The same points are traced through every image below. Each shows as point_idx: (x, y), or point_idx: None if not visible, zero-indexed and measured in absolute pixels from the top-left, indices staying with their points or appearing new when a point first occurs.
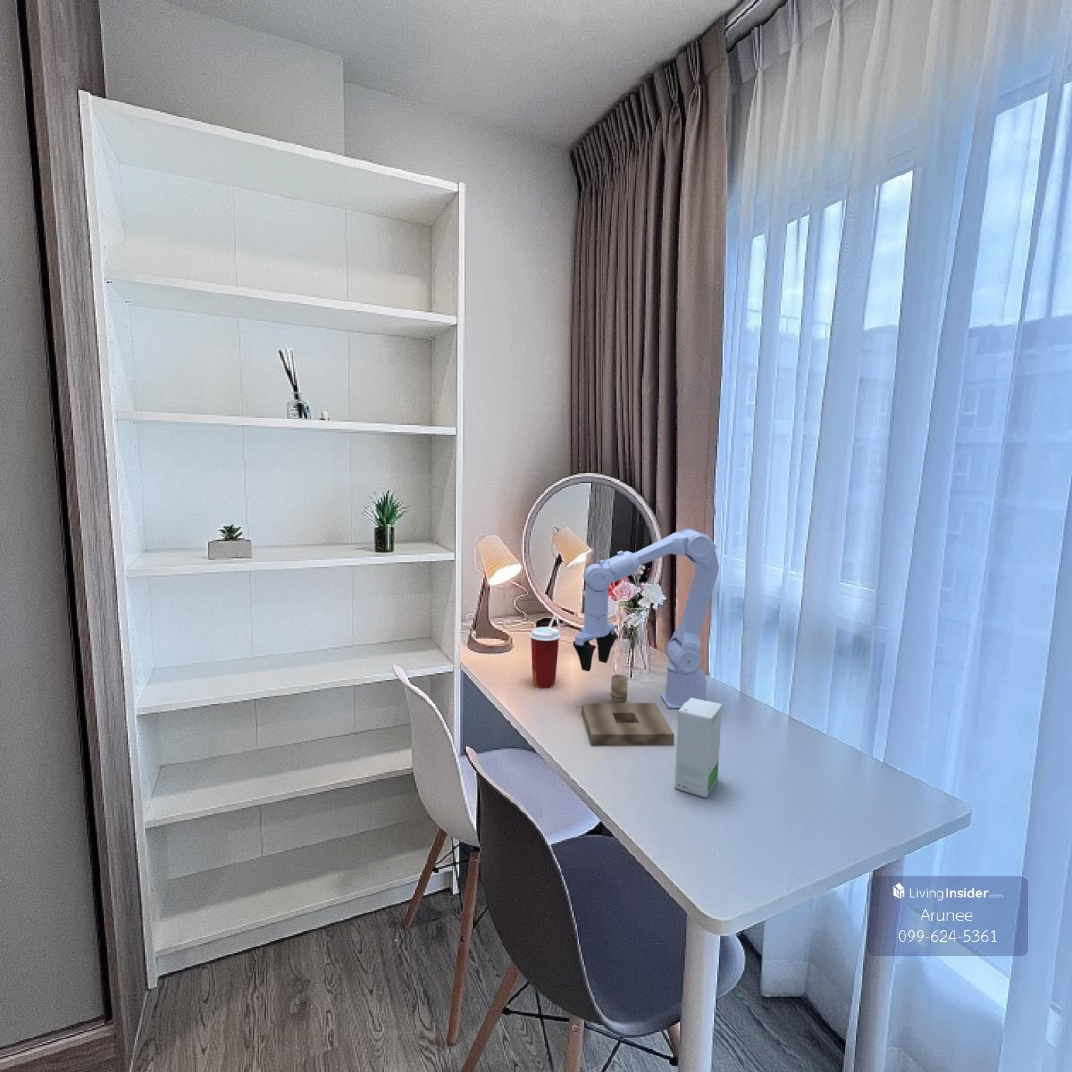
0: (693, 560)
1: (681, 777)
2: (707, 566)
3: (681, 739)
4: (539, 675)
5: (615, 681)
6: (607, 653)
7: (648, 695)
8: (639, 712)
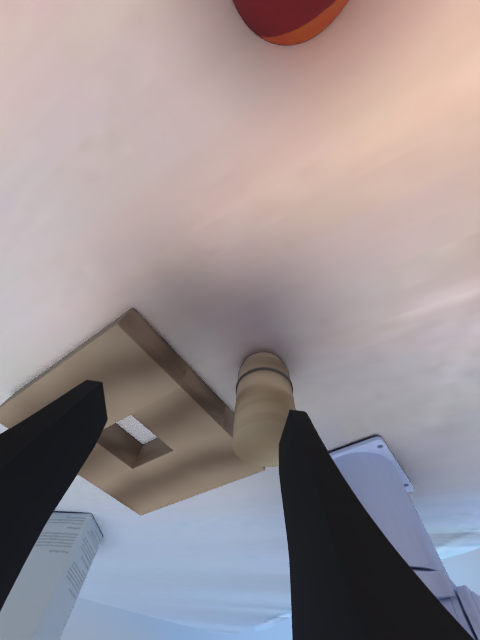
0: None
1: None
2: None
3: None
4: None
5: (233, 435)
6: (285, 522)
7: (368, 411)
8: (184, 457)
